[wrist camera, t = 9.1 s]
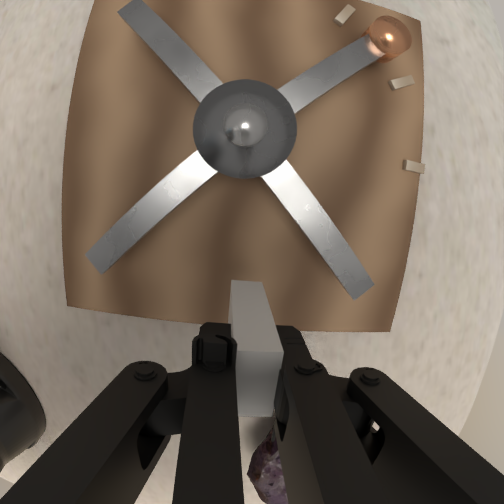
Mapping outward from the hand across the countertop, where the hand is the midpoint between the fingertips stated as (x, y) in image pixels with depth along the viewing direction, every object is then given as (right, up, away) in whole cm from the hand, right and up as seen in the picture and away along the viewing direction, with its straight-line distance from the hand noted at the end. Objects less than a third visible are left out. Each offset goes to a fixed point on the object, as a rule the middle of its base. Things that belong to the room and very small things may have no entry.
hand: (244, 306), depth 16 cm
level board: (0, +10, +5) cm, 12 cm away
